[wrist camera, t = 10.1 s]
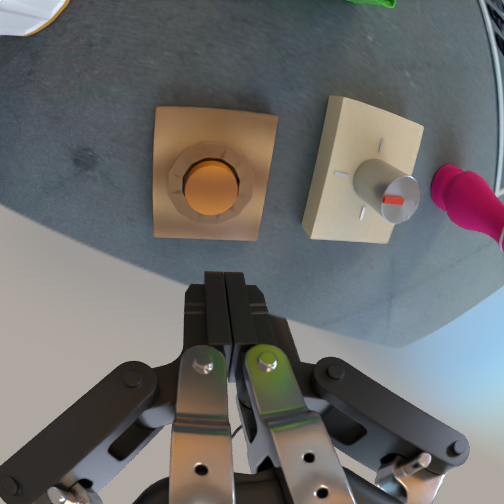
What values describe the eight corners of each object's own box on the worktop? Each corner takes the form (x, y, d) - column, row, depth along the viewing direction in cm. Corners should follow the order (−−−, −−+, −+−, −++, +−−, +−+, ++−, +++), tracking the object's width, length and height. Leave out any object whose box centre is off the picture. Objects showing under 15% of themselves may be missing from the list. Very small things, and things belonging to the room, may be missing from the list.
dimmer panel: (374, 231, 31) (388, 244, 29) (300, 225, 29) (310, 240, 27) (407, 121, 24) (425, 127, 21) (329, 94, 22) (344, 96, 19)
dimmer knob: (394, 161, 23) (428, 180, 19) (384, 202, 26) (414, 226, 21) (357, 155, 22) (390, 173, 18) (348, 199, 25) (377, 225, 20)
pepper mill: (453, 150, 26) (575, 226, 10) (464, 189, 30) (563, 268, 13) (421, 181, 28) (544, 278, 12) (435, 218, 32) (532, 313, 15)
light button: (232, 207, 23) (234, 216, 22) (185, 205, 22) (183, 214, 21) (238, 162, 21) (240, 168, 19) (187, 158, 20) (186, 164, 19)
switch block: (253, 230, 29) (260, 251, 25) (156, 226, 27) (150, 247, 23) (272, 114, 22) (284, 118, 19) (160, 105, 20) (151, 108, 17)
